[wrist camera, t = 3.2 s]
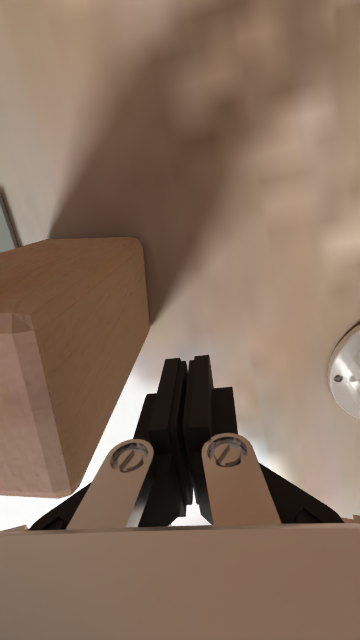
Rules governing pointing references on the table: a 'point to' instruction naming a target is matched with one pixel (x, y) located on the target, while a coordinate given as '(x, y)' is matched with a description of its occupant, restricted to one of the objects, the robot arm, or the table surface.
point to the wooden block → (64, 355)
